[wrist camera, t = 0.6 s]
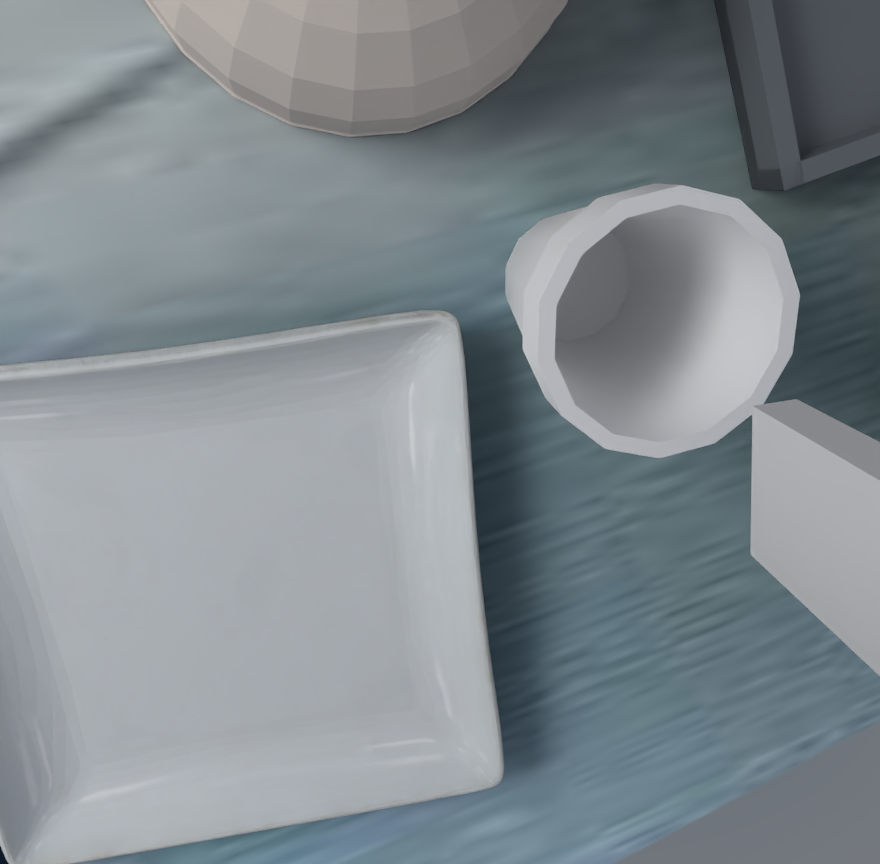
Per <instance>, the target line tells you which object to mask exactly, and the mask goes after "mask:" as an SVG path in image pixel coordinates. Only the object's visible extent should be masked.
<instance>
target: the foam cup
mask: <svg viewBox="0 0 880 864" xmlns="http://www.w3.org/2000/svg"><path fill="white" fill-rule="evenodd" d="M505 295H506V298H507V300H508V303H509V305H510V307H511V310H512V312H513V315H514V317H515V319H516V322H517V324H518V326H519V329H520V331H521V333H522V336H523V351H524V353H525V355H526V358H527V360H528V362H529V364H530V366H531V368H532V371H533V373H534V375H535V377H536V379H537V381H538V383H539V386H540V388H541V390H542V392H543V394H544V396H545V398H546V399H547V400H548V401H549V403H550V404H551V405H552V406H553V407H554V408H555V409H556V410H557V411H558V412H559V413H560V415H561V416H563V417H564V418H565V419H567V420H568V421H569V422H571V423H572V424H573V425H574V426H576V427H577V428H578V429H580V430H581V431H582V432H584V433H585V434H586V435H588V436H589V437H590V438H592V439H593V440H594V441H595V442H597V443H598V444H599V445H601V446H602V447H603V448H605V449H609V450H614V451H620V452H626V453H632V454H637V455H643V456H649V457H655V458H662V457H666V456H670V455H674V454H677V453H681V452H685V451H688V450H692V449H696V448H699V447H703V446H707V445H711V444H714V443H716V442H717V441H718V440H720V439H721V438H722V437H724V436H725V435H726V434H727V433H729V432H730V431H731V430H733V429H734V428H735V427H736V426H738V425H739V424H740V423H742V422H743V421H744V420H745V419H747V418H748V417H749V416H751V415H752V411H753V406H755V405H762V404H764V402H765V400H766V399H767V397H768V395H769V394H770V392H771V390H772V388H773V387H774V385H775V383H776V382H777V380H778V378H779V376H780V375H781V373H782V371H783V370H784V368H785V366H786V364H787V363H788V361H789V359H790V357H791V356H792V354H793V346H794V338H795V330H796V323H797V315H798V307H799V300H800V293H799V290H798V286H797V283H796V280H795V277H794V274H793V271H792V268H791V265H790V262H789V259H788V256H787V253H786V250H785V247H784V244H783V241H782V239H781V238H780V237H779V236H778V235H777V234H776V233H775V232H774V231H773V230H772V229H771V228H770V227H769V226H768V225H767V224H766V223H765V222H763V221H762V220H761V219H760V218H759V217H758V216H757V215H756V214H755V213H754V212H753V211H752V210H751V209H750V208H749V207H748V206H747V205H745V204H744V203H743V202H742V201H741V200H740V199H737V198H733V197H729V196H725V195H720V194H716V193H712V192H708V191H704V190H700V189H696V188H692V187H687V186H683V185H673V184H657V183H654V184H650V185H646V186H643V187H639V188H635V189H631V190H627V191H623V192H619V193H615V194H611V195H607V196H603V197H599V198H597V199H596V200H595V201H593V202H592V203H591V204H590V205H589V206H587V207H584V208H580V209H577V210H573V211H569V212H566V213H562V214H558V215H555V216H551V217H548V218H544V219H542V220H541V221H539V222H538V223H537V224H536V225H535V226H533V227H532V228H531V229H530V230H529V231H527V232H526V233H525V234H524V235H523V236H521V237H520V238H519V239H518V241H517V244H516V246H515V248H514V250H513V252H512V254H511V256H510V258H509V260H508V262H507V264H506V289H505Z"/></svg>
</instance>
